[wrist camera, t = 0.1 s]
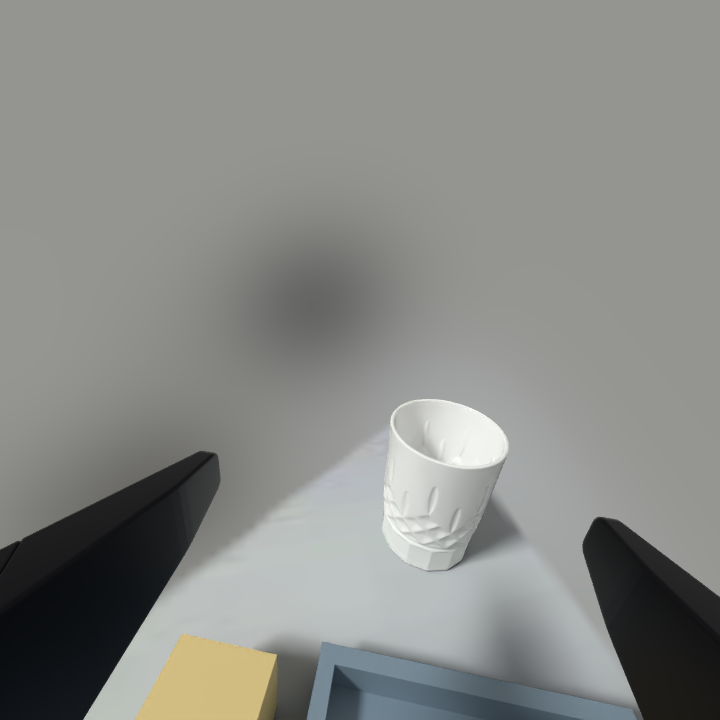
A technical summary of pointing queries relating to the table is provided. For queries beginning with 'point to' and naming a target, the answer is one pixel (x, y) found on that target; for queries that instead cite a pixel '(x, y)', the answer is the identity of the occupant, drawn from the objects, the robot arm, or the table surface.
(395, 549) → the white cup
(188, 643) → the ochre block
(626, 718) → the slate tray
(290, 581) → the table surface
